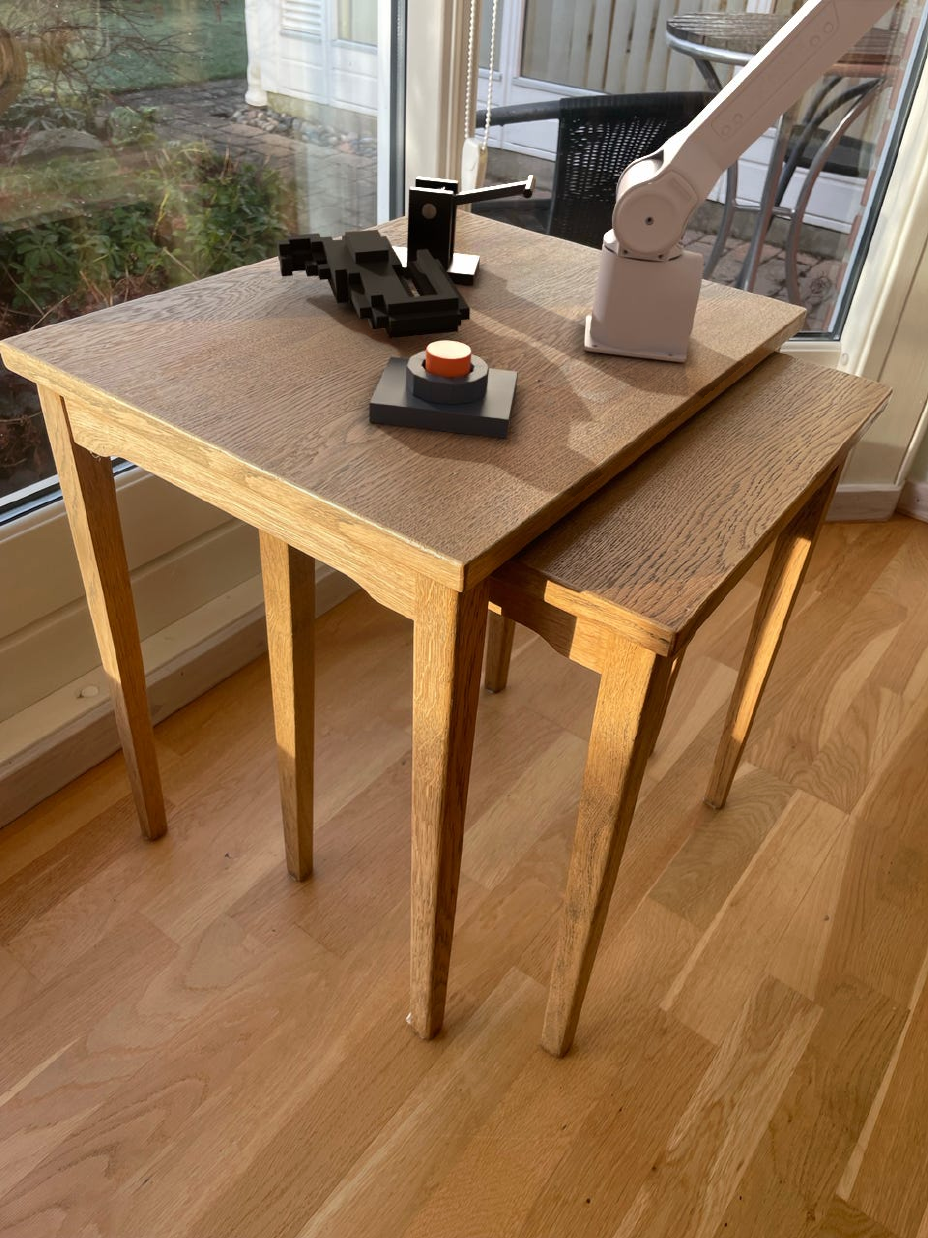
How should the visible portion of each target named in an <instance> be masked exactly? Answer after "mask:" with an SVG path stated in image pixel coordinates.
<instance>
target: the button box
mask: <svg viewBox="0 0 928 1238" xmlns="http://www.w3.org/2000/svg"><path fill="white" fill-rule="evenodd" d="M518 376H519V371H516V370H508V369H507V370H506V369H499V368H491V367H490V365H489V364H488V363H487V362H485V360H484V359H483V358H482V357H480V356H477V355H476V354H473V353H471V366H470V373H469V374H468V375H466V376H462V377H453V378H450V377H442V376H436V375H434V374H431V373H429V372H427V371H426V350H422V351H420V352H418V353H415V354H413V355H411V356H410V357H409V358H407V357H406V358H405V357H399V356H398V357H397V356H389V359H388V361H387V363H386V365H385V368H384V370H383V372H382V374H381V376H380V379H379V380H378V383H377V385H376V387H375V389H374V392H373V394H372V396H371V398H370V401H369V406H368V407H369V408H368V409H369V410H368V411H369V412H368V413H369V414H368V415H369V416H368V417H369V418H368V421H369V423H373V424H381V425H390V426H396V427H397V426H399V427H406V428H412V429H413V428H414V429H421V430H431V431H438V432H439V431H440V432H447V433H456V434H463V435H470V436H471V435H472V436H479V437H486V438H487V437H489V438H497V439H503V440H507V439H508V434H509V430H510V426H511V425H510V423H511V419H512V414H513V409H514V404H515V398H516V394H517V385H518Z"/></svg>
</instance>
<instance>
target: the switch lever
mask: <svg viewBox="0 0 928 1238" xmlns="http://www.w3.org/2000/svg"><path fill="white" fill-rule="evenodd" d="M525 179H526V180H524V181H517V182H511V183H506V184H500V185H495V186H489V187H482V188H477V189H472V190H466V191H458V193H453V206H457V207H458V206H463V205H468V204H469V205H470V204H475V203H481V202H487V201H493V200H499V199H504V198H510V197H516V196H517V197H518V196H522V197H523V198H525V199H527V200H528V199H531V198H532V197H533V193H534V189H535V186H536V181H537V180H536V177H535V176H534V175H529V176H527V177H526V178H525ZM432 189H436V190H445V191H446V187H445V186H444V187H438V188H432Z"/></svg>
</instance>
